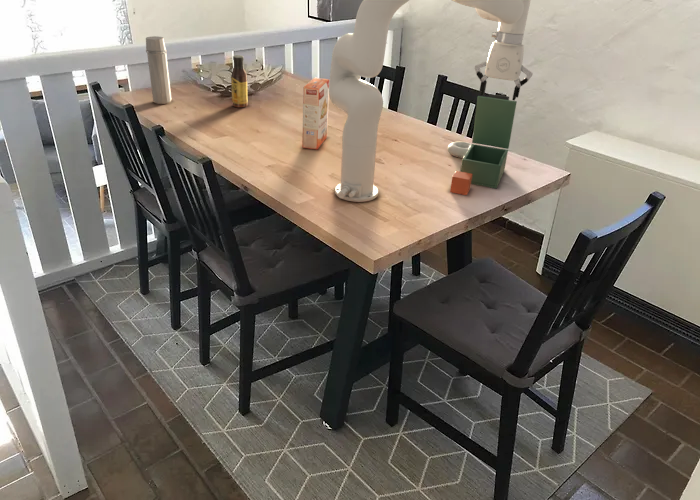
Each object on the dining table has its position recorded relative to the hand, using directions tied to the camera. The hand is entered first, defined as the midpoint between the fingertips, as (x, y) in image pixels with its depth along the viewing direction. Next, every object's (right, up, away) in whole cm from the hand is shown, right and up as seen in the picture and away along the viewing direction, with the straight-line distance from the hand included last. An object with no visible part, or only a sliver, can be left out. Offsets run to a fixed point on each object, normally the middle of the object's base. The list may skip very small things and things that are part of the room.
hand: (498, 96), depth 176 cm
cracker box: (-58, -10, +24) cm, 63 cm away
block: (-13, -30, -6) cm, 33 cm away
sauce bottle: (-91, +12, +58) cm, 108 cm away
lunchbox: (-4, -24, +5) cm, 25 cm away
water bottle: (-122, +13, +56) cm, 135 cm away
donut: (-7, -14, +21) cm, 27 cm away
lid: (-1, -8, +1) cm, 8 cm away
